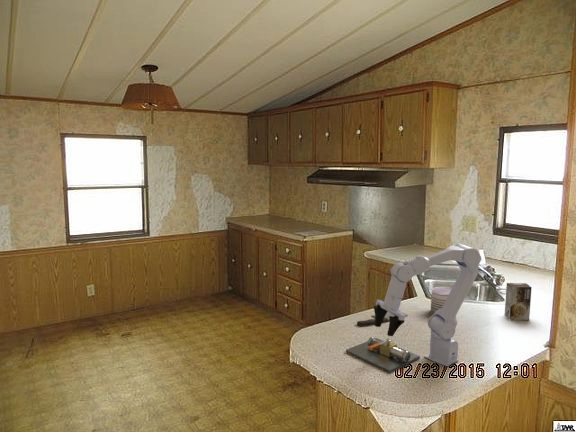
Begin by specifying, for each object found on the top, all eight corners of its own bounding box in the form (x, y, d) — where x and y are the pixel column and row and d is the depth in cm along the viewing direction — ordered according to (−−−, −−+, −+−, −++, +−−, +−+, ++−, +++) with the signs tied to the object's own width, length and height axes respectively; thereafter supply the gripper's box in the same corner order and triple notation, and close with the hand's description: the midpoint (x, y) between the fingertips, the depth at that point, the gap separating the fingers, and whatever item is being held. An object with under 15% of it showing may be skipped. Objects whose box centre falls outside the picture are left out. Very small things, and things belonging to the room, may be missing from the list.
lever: (388, 340, 166) (388, 338, 166) (392, 342, 164) (392, 339, 164) (368, 349, 158) (368, 346, 158) (372, 350, 157) (372, 348, 157)
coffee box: (523, 315, 209) (526, 283, 207) (529, 320, 203) (532, 287, 201) (503, 314, 210) (506, 282, 208) (509, 319, 204) (511, 286, 201)
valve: (419, 358, 164) (420, 344, 163) (389, 373, 152) (390, 358, 152) (376, 340, 180) (376, 327, 179) (345, 352, 168) (346, 338, 168)
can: (458, 317, 206) (459, 293, 204) (434, 317, 206) (435, 293, 204) (449, 309, 217) (451, 286, 215) (426, 309, 217) (428, 285, 215)
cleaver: (364, 329, 192) (364, 324, 191) (349, 322, 200) (349, 317, 200) (409, 317, 208) (410, 312, 208) (394, 310, 216) (394, 306, 216)
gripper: (373, 287, 162) (363, 321, 163) (398, 302, 149) (387, 339, 150) (388, 289, 165) (378, 323, 166) (413, 304, 152) (402, 340, 153)
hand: (383, 331), depth 158 cm, fingers open, 7 cm apart
